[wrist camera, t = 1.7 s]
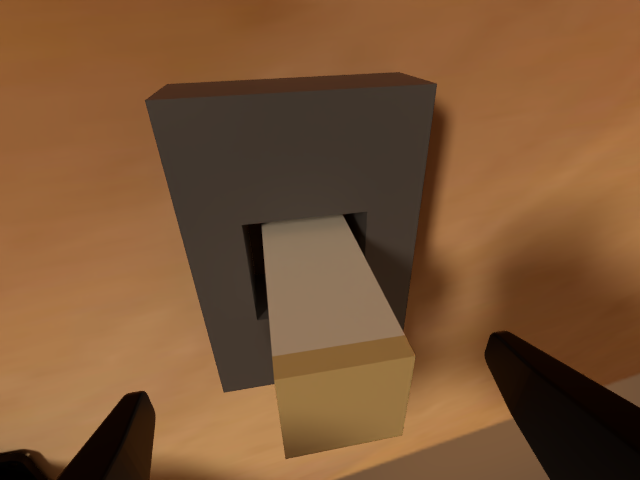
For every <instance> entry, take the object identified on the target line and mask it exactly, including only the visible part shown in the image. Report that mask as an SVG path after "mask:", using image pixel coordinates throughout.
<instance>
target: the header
mask: <svg viewBox="0 0 640 480" xmlns="http://www.w3.org/2000/svg"><path fill="white" fill-rule="evenodd" d="M436 87H437V84H436V83H433V82H430V81H426V80H423V79H420V78H416V77H413V76H410V75H406V74H403V73H400V72H396V73H376V74H357V75H337V76H318V77H298V78H279V79H260V80H240V81H221V82H201V83H182V84H167V85H165V86H164V87H163V88H161V89H160V90H159V91H157V92H156V93H154V94H153V95H152V96H150V97H149V98H148V99H146V100H145V102H146V106H147V110H148V114H149V117H150V121H151V125H152V128H153V132H154V136H155V139H156V143H157V147H158V151H159V154H160V158H161V162H162V165H163V169H164V173H165V176H166V180H167V184H168V188H169V191H170V195H171V199H172V202H173V206H174V210H175V214H176V217H177V221H178V225H179V228H180V232H181V236H182V239H183V243H184V247H185V251H186V254H187V258H188V262H189V265H190V269H191V273H192V276H193V280H194V284H195V288H196V291H197V295H198V299H199V302H200V306H201V310H202V313H203V317H204V321H205V325H206V328H207V332H208V336H209V339H210V343H211V347H212V350H213V354H214V358H215V362H216V365H217V369H218V373H219V376H220V380H221V384H222V387H223V391H224V392H230V391H236V390H242V389H247V388H253V387H259V386H265V385H271V384H275V383H274V373H273V361H272V348H271V336H270V324H269V311H268V299H267V287H266V275H265V273H262V274H255V268H254V262H253V255H252V248H251V242H250V235H249V229H248V224H256V223H265V222H275V221H284V220H293V219H303V218H312V217H321V216H331V215H340V214H346V222H347V224H348V226H349V228H350V230H351V232H352V234H353V236H354V238H355V240H356V241H357V243H358V245H359V247H360V249H361V251H362V253H363V255H364V257H365V259H366V261H367V263H368V265H369V267H370V269H371V270H372V272H373V274H374V276H375V278H376V280H377V282H378V284H379V286H380V288H381V290H382V292H383V294H384V296H385V298H386V300H387V301H388V303H389V305H390V307H391V309H392V311H393V313H394V315H395V317H396V319H397V321H398V323H399V325H400V327H401V329H402V330H404V323H405V315H406V308H407V301H408V293H409V286H410V279H411V271H412V264H413V257H414V249H415V242H416V235H417V227H418V220H419V212H420V205H421V198H422V190H423V183H424V176H425V168H426V161H427V154H428V146H429V139H430V132H431V124H432V117H433V110H434V102H435V95H436Z"/></svg>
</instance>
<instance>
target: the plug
mask: <svg viewBox="0 0 640 480" xmlns="http://www.w3.org/2000/svg"><path fill="white" fill-rule="evenodd" d="M261 225H262V238H263V250H264V262H265V275H266V287H267V299H268V311H269V324H270V336H271V348H272V361H273V373H274V383H275V390H276V397H277V403H278V410H279V417H280V424H281V431H282V437H283V444H284V451H285V458H286V459H288V458H293V457H298V456H303V455H308V454H313V453H318V452H323V451H328V450H333V449H338V448H343V447H347V446H352V445H357V444H362V443H367V442H372V441H377V440H382V439H387V438H392V437H397V436H402V433H403V428H404V422H405V416H406V410H407V404H408V398H409V392H410V387H411V381H412V375H413V369H414V363H415V357H416V356H415V354H414V352H413V350H412V348H411V346H410V344H409V342H408V340H407V338H406V336H405V334H404V332H403V330H402V329H401V327H400V325H399V323H398V321H397V319H396V317H395V315H394V313H393V311H392V309H391V307H390V305H389V303H388V301H387V300H386V298H385V296H384V294H383V292H382V290H381V288H380V286H379V284H378V282H377V280H376V278H375V276H374V274H373V272H372V270H371V269H370V267H369V265H368V263H367V261H366V259H365V257H364V255H363V253H362V251H361V249H360V247H359V245H358V243H357V241H356V240H355V238H354V236H353V234H352V232H351V230H350V228H349V226H348V224H347V222H346V220H345V218H344V216H343V214H340V215H331V216H321V217H312V218H303V219H293V220H284V221H275V222H265V223H261Z"/></svg>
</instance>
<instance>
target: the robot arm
mask: <svg viewBox="0 0 640 480" xmlns="http://www.w3.org/2000/svg"><path fill="white" fill-rule="evenodd" d="M485 360H486V363H487V365H488V367H489V369H490V371H491V373H492V375H493V377H494V380H495V382H496V384H497V386H498V388H499V390H500V392H501V394H502V396H503V398H504V401H505V403H506V405H507V407H508V409H509V411H510V413H511V415H512V416H513V418H514V420H515V422H516V423H517V425H518V427H519V428H520V430H521V432H522V433H523V435H524V437H525V438H526V440H527V442H528V443H529V445H530V447H531V449H532V450H533V452H534V453H535V455H536V457H537V459H538V460H539V462H540V463H541V465H542V467H543V469H544V470H545V472H546V473H547V475H548V477H549V478H550V480H640V408H639V407H638V406H636V405H634V404H633V403H630V402H629V401H627V400H626V399H624V398H622V397H620V396H619V395H617V394H615V393H614V392H612V391H610V390H608V389H607V388H605V387H603V386H602V385H600V384H598V383H596V382H595V381H593V380H591V379H590V378H588V377H586V376H584V375H583V374H581V373H579V372H577V371H576V370H574V369H572V368H571V367H569V366H567V365H565V364H564V363H562V362H560V361H559V360H557V359H555V358H553V357H552V356H550V355H548V354H546V353H545V352H543V351H541V350H540V349H538V348H536V347H534V346H533V345H531V344H529V343H528V342H526V341H524V340H522V339H521V338H519V337H517V336H515V335H514V334H512V333H510V332H508V331H499V332H493V333H492V334H491V335H490V337H489V340H488V343H487V346H486V350H485ZM154 430H155V411H154V408H153V406H152V404H151V402H150V399H149V397H148V395H147V393H146V392H145V391H138V392H132V393H128V394H126V395H125V396H124V397H123V398H122V399H121V400H120V401H119V403H118V404H117V405H116V406H115V408H114V409H113V410H112V411H111V413H110V414H109V415H108V416H107V417H106V419H105V420H104V421H103V422H102V424H101V425H100V426H99V427H98V429H97V430H96V431H95V432H94V434H93V435H92V436H91V437H90V438H89V440H88V441H87V442H86V443H85V445H84V446H83V447H82V448H81V450H80V451H79V452H78V453H77V455H76V456H75V457H74V458H73V459H72V461H71V462H70V463H69V464H68V466H67V467H66V468H65V469H64V471H63V472H62V473H61V474H60V476H59V477H58V478H57V479H56V480H149V478H150V468H151V459H152V449H153V439H154ZM0 480H47V478H46V477H45V476H44V475H43V474H42V473H41V471H40V470H39V469H38V468H37V467H36V466H35V465H34V463H33V462H32V461H31V460H30V459H29V458H28V456H26V455H25V454H22V453H11V454H6V455H0Z"/></svg>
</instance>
